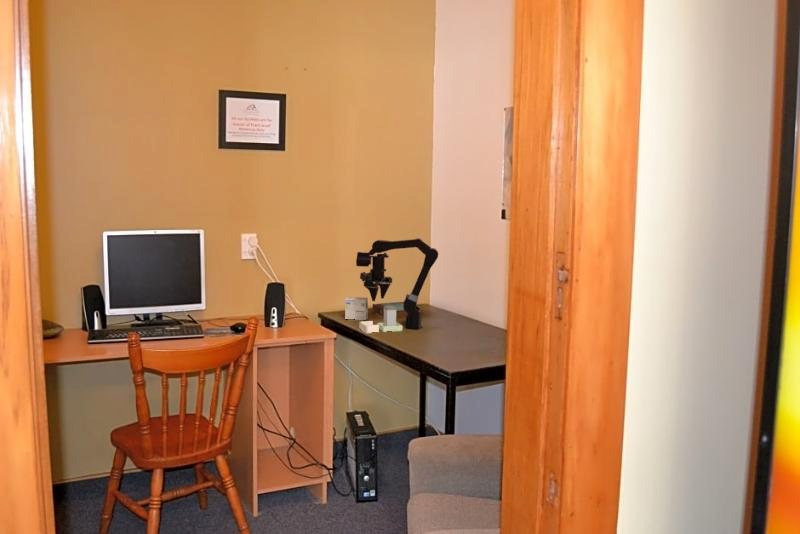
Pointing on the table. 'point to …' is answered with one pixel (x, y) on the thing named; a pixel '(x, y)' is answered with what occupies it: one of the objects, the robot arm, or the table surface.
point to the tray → (390, 327)
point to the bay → (368, 326)
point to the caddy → (389, 316)
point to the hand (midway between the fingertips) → (378, 299)
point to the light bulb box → (356, 308)
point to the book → (399, 305)
